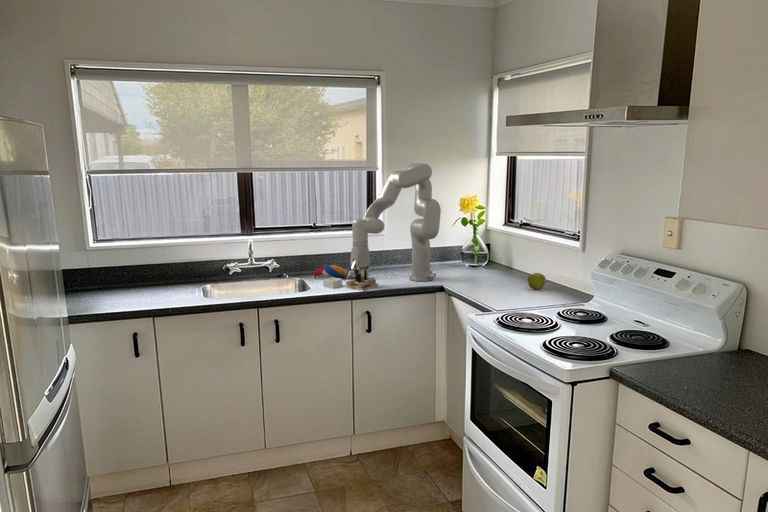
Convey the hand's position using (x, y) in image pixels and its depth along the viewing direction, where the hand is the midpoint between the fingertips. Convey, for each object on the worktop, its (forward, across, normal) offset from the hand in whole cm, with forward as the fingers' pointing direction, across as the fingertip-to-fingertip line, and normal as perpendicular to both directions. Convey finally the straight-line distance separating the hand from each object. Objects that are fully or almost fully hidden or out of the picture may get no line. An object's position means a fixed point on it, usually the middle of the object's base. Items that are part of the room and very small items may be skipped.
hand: (361, 280), depth 281 cm
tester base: (+3, 0, 0) cm, 3 cm away
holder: (+3, +7, -12) cm, 15 cm away
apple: (+3, -43, +74) cm, 85 cm away
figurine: (+4, -10, -20) cm, 23 cm away
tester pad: (+1, 0, 0) cm, 1 cm away
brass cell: (+1, 0, 0) cm, 1 cm away
